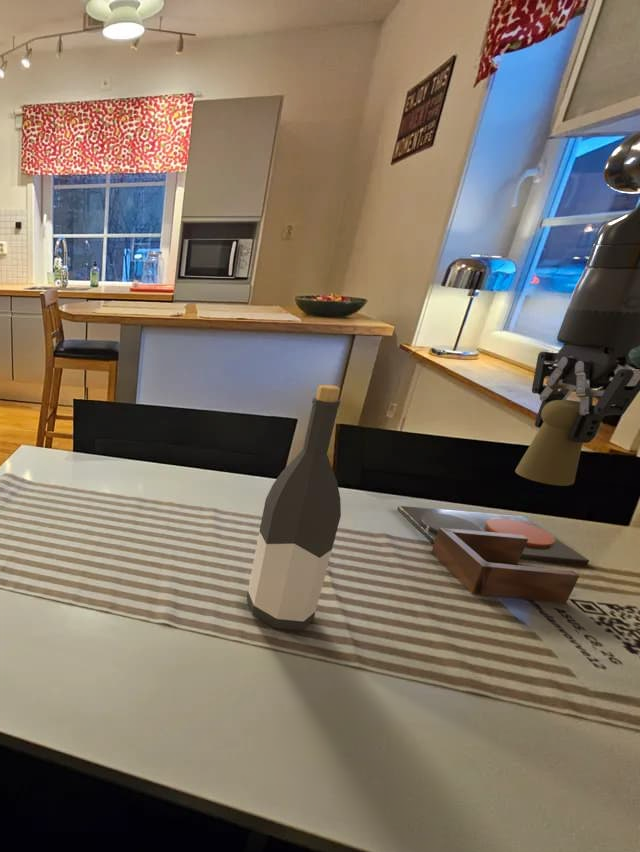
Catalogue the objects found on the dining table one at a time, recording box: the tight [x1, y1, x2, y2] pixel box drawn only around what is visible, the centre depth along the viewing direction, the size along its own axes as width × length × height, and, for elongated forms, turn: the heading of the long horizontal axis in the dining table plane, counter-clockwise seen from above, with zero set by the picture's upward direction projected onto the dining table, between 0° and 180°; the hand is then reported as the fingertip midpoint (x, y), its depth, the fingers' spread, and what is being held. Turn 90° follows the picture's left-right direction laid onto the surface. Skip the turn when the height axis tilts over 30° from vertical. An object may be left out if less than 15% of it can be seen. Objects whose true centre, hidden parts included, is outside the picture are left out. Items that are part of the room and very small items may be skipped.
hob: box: [397, 505, 590, 566], centre depth 82 cm, size 20×14×1 cm
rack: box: [430, 528, 580, 605], centre depth 71 cm, size 11×10×4 cm
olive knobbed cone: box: [514, 399, 584, 487], centre depth 68 cm, size 6×6×11 cm
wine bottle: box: [246, 384, 342, 632], centre depth 59 cm, size 8×8×30 cm
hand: (560, 433), depth 67 cm, fingers closed on olive knobbed cone, 5 cm apart
